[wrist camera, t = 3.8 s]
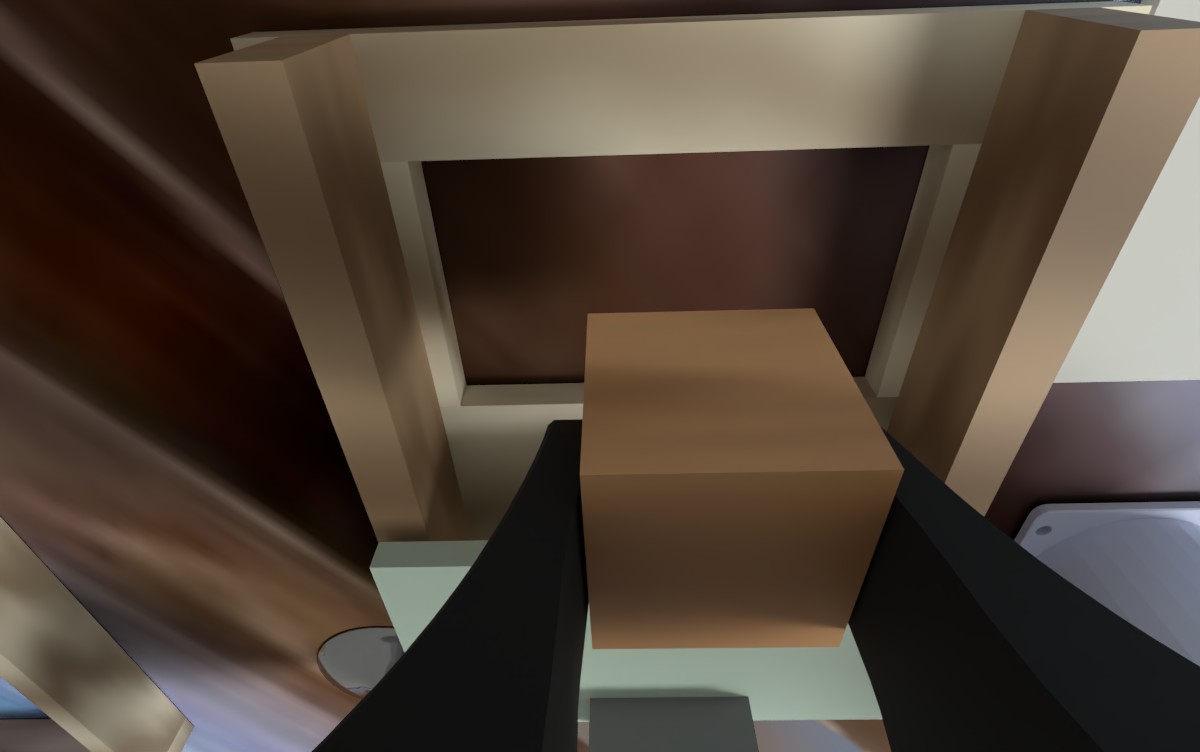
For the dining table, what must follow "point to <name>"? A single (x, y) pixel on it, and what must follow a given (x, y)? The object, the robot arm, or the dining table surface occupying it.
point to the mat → (1152, 274)
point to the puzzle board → (692, 125)
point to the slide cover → (652, 669)
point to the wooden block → (726, 480)
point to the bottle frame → (72, 670)
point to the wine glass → (359, 658)
